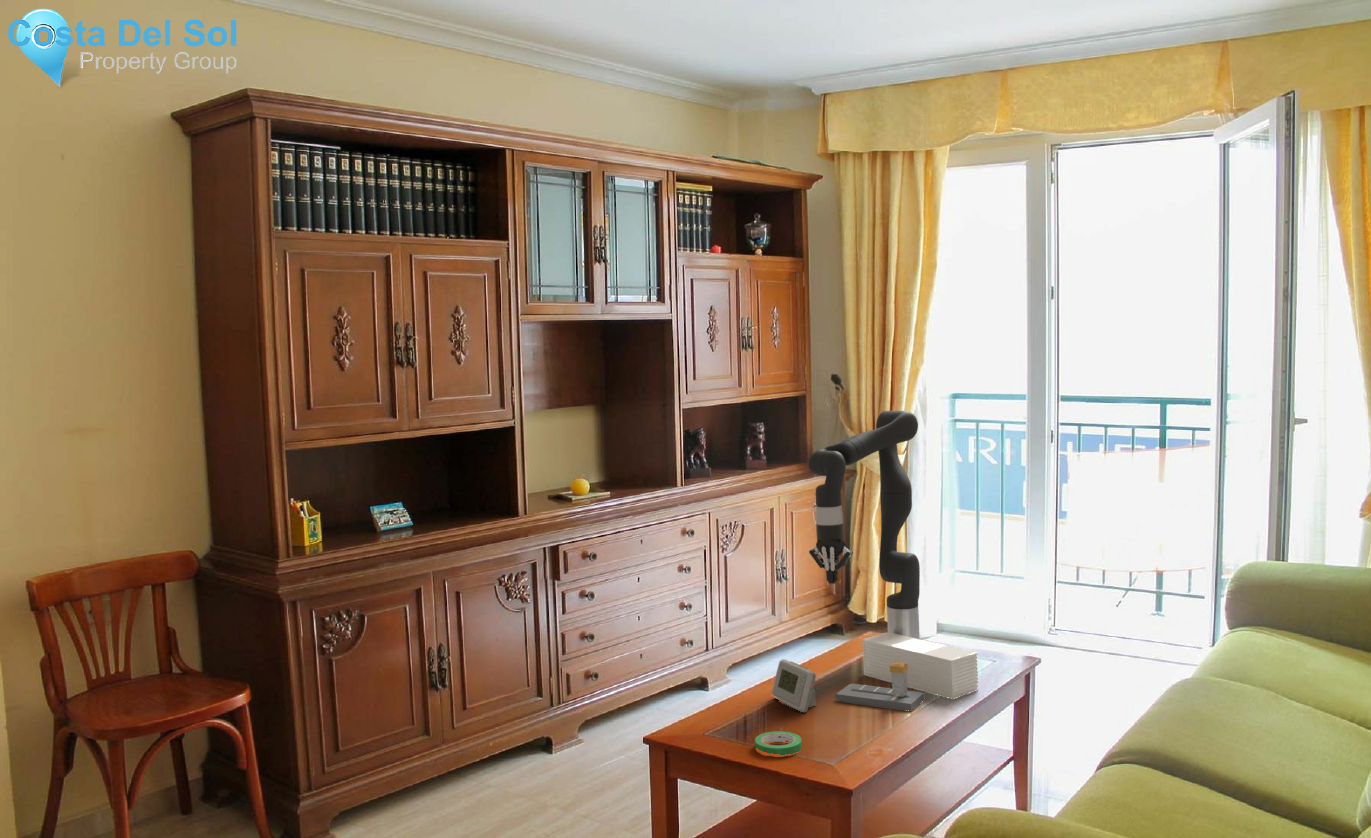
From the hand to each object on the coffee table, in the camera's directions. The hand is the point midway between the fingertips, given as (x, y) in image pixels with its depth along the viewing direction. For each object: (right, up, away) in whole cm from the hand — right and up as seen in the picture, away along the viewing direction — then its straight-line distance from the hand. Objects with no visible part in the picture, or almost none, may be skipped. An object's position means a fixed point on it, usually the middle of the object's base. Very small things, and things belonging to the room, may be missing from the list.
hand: (832, 583), depth 295 cm
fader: (+16, -27, -17) cm, 35 cm away
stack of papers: (+24, -28, 0) cm, 37 cm away
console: (+11, -29, -14) cm, 34 cm away
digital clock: (-12, -31, -13) cm, 36 cm away
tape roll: (-19, -33, -44) cm, 58 cm away
